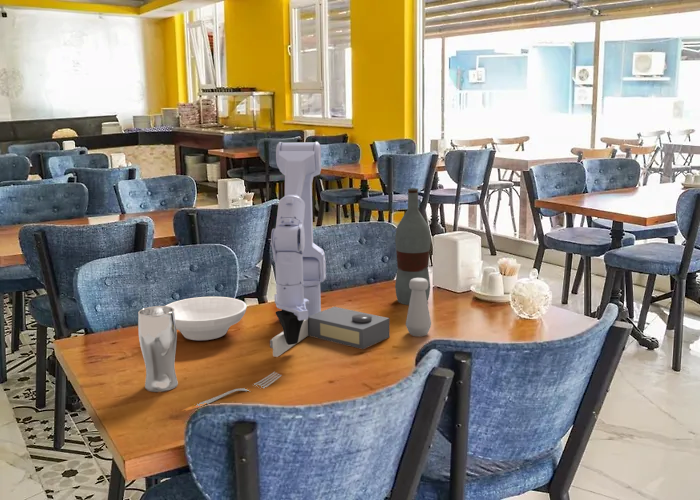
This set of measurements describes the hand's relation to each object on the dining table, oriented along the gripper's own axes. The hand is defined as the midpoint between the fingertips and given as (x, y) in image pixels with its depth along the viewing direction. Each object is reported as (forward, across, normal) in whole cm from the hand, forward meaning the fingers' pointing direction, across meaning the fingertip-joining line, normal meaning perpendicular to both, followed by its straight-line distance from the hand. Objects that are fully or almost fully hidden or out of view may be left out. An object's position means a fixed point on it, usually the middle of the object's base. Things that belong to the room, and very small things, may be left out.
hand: (292, 343), depth 158 cm
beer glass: (+2, -6, +29) cm, 30 cm away
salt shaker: (+3, -2, -30) cm, 31 cm away
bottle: (+3, +22, -43) cm, 49 cm away
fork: (+2, -16, +20) cm, 26 cm away
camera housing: (+2, +4, -15) cm, 16 cm away
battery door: (+2, +4, -1) cm, 5 cm away
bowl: (+2, +20, +14) cm, 24 cm away
